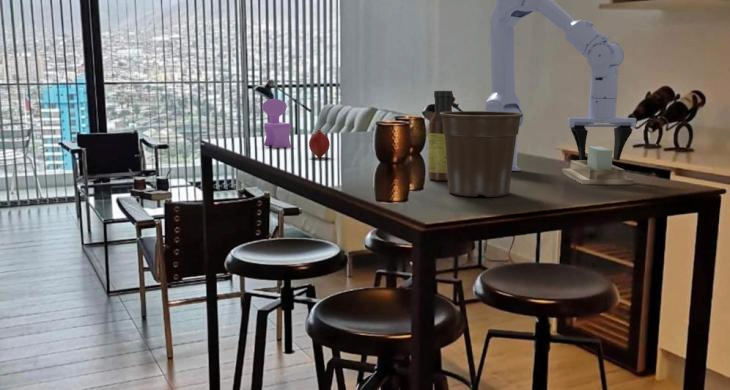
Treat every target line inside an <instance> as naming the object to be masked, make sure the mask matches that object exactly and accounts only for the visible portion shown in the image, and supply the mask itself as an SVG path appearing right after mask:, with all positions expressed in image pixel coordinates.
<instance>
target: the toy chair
mask: <svg viewBox="0 0 730 390" xmlns="http://www.w3.org/2000/svg"><path fill="white" fill-rule="evenodd" d="M287 106H288V105H287V103H286V102H284V101H283V100H281V99H278V98H270V99H267V100H265V101H264V102H263V104H262V106H261V107H262V111H263V112H264V113H265V114H266V115H267V116H269V122H264V127H263V128H264V130H265V134H266V137H265V140H264V143H263V146H272V149H275V148H276V149H278V148H291V147H292V144H291V141H290V134H291V129H292V126H291V125H292V124H291V123H290V122H289V123H288V122H284V121H281V122H280V117H281V116H282V115H284V114H285V112H286V110H287Z"/></svg>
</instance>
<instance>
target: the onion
mask: <svg viewBox="0 0 730 390" xmlns="http://www.w3.org/2000/svg"><path fill="white" fill-rule="evenodd" d="M330 145H331V144H330V140H329V137H328V136H327V135H326V134H325V133H324V132H322V129H320V128H319V129H317V131H316V132H315V133H313V134H312V135H311V137H310V139H309V142H308V146H309V150H310V151H311V152H312V153H313V155H315V156H316V157H317V158H322V157H323V156H325V154H326V153H327V152H328V151H329V149H330Z"/></svg>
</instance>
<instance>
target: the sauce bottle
mask: <svg viewBox="0 0 730 390" xmlns="http://www.w3.org/2000/svg"><path fill="white" fill-rule="evenodd" d="M453 95H454V94H453V90H434V91H433V98H434V108H433V109H434V112H433V113H432V115H431V116H430V119H429V123H428V127H429V128H428V129H429V131H428V155H427V156H428V157H427V160H428V162H427V163H428V165H427V169H428V170H427V172H428V179H429V180H431V181H440V182H445V181H446V182H448V177H447V160H446V143H445V134H444V133H443V123H442V116H440V113H441V112H453V111H452V110H453V108H452V103H453V101H452V100H453V99H452V98H453Z"/></svg>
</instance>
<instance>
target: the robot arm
mask: <svg viewBox="0 0 730 390" xmlns="http://www.w3.org/2000/svg"><path fill="white" fill-rule="evenodd" d="M534 12H535V13H539V14H541V15H542V16H543V17H545V18H546V19H547V20H549V21H550V22H551V23H553V24H554V25H555V26H557V27H558V28H560V29H561V30H562V31H564V36H565V37H564V39H565V41H566V42H567V43H568V44H570V45H571V46H572V47H573V48H574V49H576V50H577V52H578V53H580V54H581V55H583V56H584V58H586V60H587V63H588V65H589V66H590V69H591V71H590V84H589V85H590V86H589V99H588V100H589V101H588V103H589V104H588V117H567V121H566V122H567V123H566V127H568V128H570V130H571V133H572V136H573V138H574V141H575V144H576V147H577V151H578V158H579V160H586V146H587V145H586V144H587V136H588V132H589V131H588V129H587V128H614V129H613V133H614V134H613V136H614V147H613V160H616V161H620V160H621V156H622V152H623V150H624V147H625V145H626V142H627V141H628V139H629V138H630V136H631V134H632V132H633V128H636V127H637V118H635V117H616V115H617V100H618V99H617V98H618V89H619V88H618V86H619V85H618V84H619V68H620V65H621V64H622V63H623V62H624V61H623V60H624V55H625V54H624V50H623V47H621V45H620V44H619V42H614V41H609V40H610V39H609V36H608V35H607V34H602V33H601V32H600V31H598V30H597V29H596V28H595V27H593V26H594V23H593V21H592V22H591V20H584V19H578V20H576V19H574V17H573V16H572V15H570V14H569V13H568V12H567V11H566V10H565V9H564V8H562V7H561V6H560V4H558V3H557V2H556V1H555V0H496V4H495V6H494V9H493V11H492V14H491V17H490V21H489V23H490V24H489V25H490V61H491V62H490V64H491V65H490V68H491V70H490V71H491V72H490V74H491V94H490V95H489V97H488V98H487V100H486V101H485V109H484V111H488V112H514V113H522V114H523V116H522V117H521V118H520V124H519V128H520V127H521V126H522V125H523V123H524V118H525V117H524V112H523V110H522V109H521V102H520V101H521V100H520V98H519V97H518V96H517V95H516V92H515V87H516V86H515V42H514V41H515V35H514V30H515V29H514V28H515V26H516V25H517V24H518V23H519V22H520V21H521V20H522V19H523V18H525V17H527V16H528V15H531V14H532V13H534ZM595 123H596V124H595ZM598 123H599V124H598ZM518 135H519V133H518V134H517V135H516V142H515V149H514V157H513V165H512V172H520V171H521V170H522V169H521V168H520V167H518V166H517V162H518V138H519V136H518Z"/></svg>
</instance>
